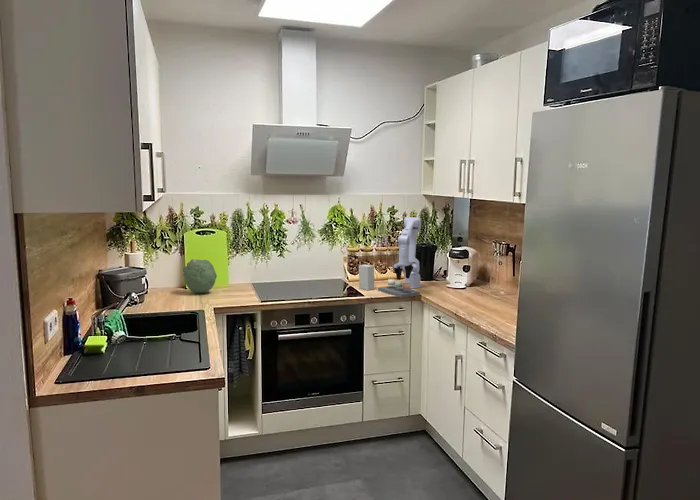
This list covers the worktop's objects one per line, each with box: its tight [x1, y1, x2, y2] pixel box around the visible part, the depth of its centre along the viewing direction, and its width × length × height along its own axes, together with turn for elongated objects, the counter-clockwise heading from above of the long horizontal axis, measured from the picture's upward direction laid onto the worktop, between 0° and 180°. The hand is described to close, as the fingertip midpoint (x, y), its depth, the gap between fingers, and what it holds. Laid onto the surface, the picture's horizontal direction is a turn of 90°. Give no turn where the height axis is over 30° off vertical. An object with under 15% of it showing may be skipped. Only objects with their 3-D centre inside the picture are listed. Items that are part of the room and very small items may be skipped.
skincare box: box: [358, 263, 375, 291], centre depth 311 cm, size 8×6×15 cm
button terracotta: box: [403, 282, 410, 290], centre depth 296 cm, size 4×4×3 cm
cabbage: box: [182, 259, 218, 294], centre depth 293 cm, size 16×19×20 cm
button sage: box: [395, 280, 404, 287], centre depth 301 cm, size 4×4×3 cm
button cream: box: [387, 278, 396, 286], centre depth 307 cm, size 4×4×3 cm
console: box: [377, 285, 421, 299], centre depth 302 cm, size 14×22×2 cm, turn 34°
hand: (403, 278), depth 296 cm, fingers open, 7 cm apart
